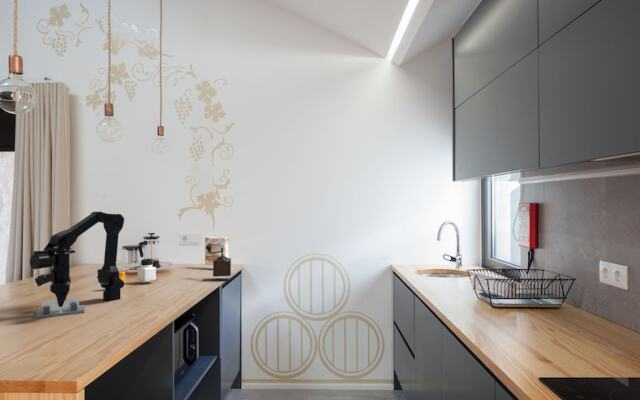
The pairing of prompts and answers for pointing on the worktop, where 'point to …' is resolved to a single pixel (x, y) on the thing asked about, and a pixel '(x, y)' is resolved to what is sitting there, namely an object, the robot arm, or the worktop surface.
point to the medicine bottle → (146, 271)
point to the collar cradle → (47, 312)
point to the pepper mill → (220, 264)
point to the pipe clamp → (122, 276)
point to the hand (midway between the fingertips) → (61, 304)
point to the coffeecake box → (216, 248)
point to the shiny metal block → (55, 307)
